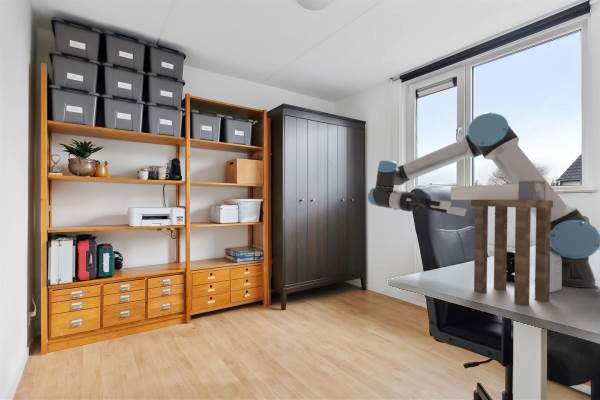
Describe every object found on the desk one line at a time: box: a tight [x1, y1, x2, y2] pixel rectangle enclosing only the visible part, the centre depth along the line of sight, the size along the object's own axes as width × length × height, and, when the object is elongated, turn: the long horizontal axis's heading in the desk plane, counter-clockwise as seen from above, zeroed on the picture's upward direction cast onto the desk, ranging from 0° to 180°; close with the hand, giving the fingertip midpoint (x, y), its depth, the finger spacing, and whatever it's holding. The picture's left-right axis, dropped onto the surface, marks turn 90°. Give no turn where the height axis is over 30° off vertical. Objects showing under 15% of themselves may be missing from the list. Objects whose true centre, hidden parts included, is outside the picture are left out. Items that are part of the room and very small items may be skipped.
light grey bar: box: [450, 180, 547, 201], centre depth 96 cm, size 5×27×5 cm, turn 23°
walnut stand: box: [470, 200, 553, 307], centre depth 91 cm, size 12×16×28 cm
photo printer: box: [550, 251, 563, 293], centre depth 98 cm, size 10×4×12 cm, turn 122°
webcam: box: [506, 250, 515, 283], centre depth 110 cm, size 8×8×10 cm
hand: (458, 209), depth 109 cm, fingers open, 13 cm apart
